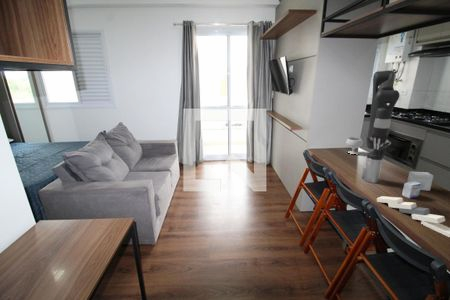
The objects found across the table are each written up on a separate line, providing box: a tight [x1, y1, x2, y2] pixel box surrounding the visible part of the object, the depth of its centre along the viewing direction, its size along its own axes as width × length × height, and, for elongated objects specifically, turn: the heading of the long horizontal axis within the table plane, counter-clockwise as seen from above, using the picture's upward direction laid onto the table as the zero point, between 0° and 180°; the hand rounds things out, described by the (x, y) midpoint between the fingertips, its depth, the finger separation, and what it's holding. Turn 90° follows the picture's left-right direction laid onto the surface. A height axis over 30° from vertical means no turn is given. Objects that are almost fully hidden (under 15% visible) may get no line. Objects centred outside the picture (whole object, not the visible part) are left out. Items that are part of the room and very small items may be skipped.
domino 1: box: [376, 195, 404, 204], centre depth 125 cm, size 2×5×11 cm
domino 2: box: [387, 201, 418, 209], centre depth 120 cm, size 2×5×11 cm
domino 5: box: [420, 220, 450, 238], centre depth 104 cm, size 2×5×11 cm
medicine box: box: [401, 181, 421, 199], centre depth 133 cm, size 8×4×9 cm, turn 106°
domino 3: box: [398, 206, 431, 215], centre depth 115 cm, size 2×5×11 cm
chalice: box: [345, 136, 364, 156], centre depth 213 cm, size 14×14×15 cm
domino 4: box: [411, 213, 446, 224], centre depth 108 cm, size 2×5×11 cm
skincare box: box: [406, 171, 434, 191], centre depth 142 cm, size 10×6×10 cm, turn 73°
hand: (376, 155), depth 128 cm, fingers closed
